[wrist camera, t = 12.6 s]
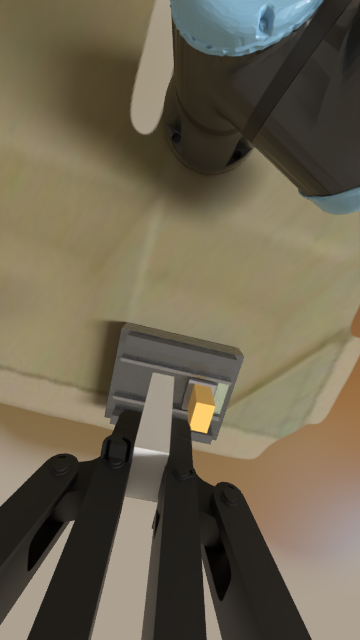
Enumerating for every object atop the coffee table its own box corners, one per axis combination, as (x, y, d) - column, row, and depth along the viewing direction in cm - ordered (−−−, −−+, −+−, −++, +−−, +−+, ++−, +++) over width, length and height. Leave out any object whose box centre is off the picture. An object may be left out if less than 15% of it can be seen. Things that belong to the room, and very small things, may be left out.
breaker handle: (189, 377, 43) (191, 398, 36) (216, 383, 43) (222, 404, 37) (181, 405, 44) (181, 430, 38) (207, 411, 45) (212, 437, 38)
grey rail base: (126, 322, 45) (120, 329, 40) (238, 348, 46) (245, 359, 41) (110, 404, 49) (102, 420, 44) (213, 426, 51) (216, 444, 46)
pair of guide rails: (129, 331, 41) (127, 335, 39) (235, 356, 42) (237, 360, 41) (112, 417, 45) (109, 423, 44) (209, 437, 46) (210, 444, 45)
